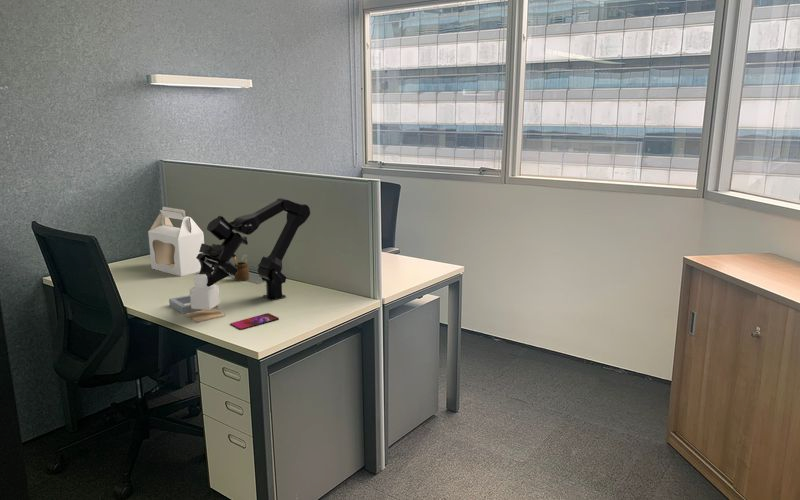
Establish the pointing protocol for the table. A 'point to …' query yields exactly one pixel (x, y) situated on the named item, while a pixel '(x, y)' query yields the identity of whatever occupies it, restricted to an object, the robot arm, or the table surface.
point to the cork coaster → (205, 315)
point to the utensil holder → (242, 270)
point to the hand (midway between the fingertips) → (202, 284)
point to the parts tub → (182, 304)
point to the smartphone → (254, 321)
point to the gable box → (175, 243)
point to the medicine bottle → (204, 292)
